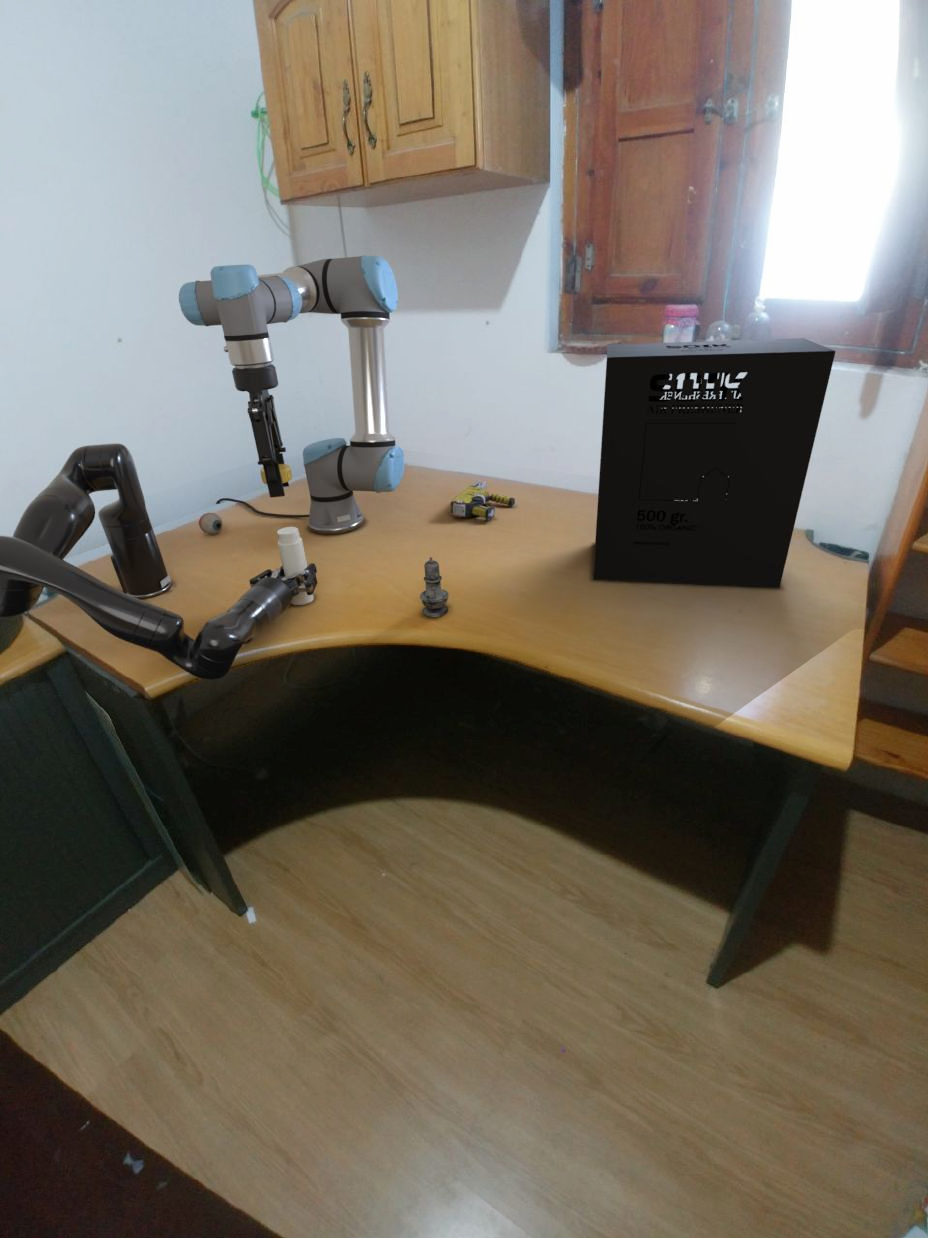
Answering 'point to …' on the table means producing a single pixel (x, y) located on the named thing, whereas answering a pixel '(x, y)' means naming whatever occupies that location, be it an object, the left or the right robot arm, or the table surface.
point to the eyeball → (210, 523)
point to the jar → (293, 559)
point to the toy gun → (477, 502)
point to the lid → (284, 472)
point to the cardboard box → (706, 459)
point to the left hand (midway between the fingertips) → (301, 566)
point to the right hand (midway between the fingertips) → (279, 490)
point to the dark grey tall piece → (433, 591)
